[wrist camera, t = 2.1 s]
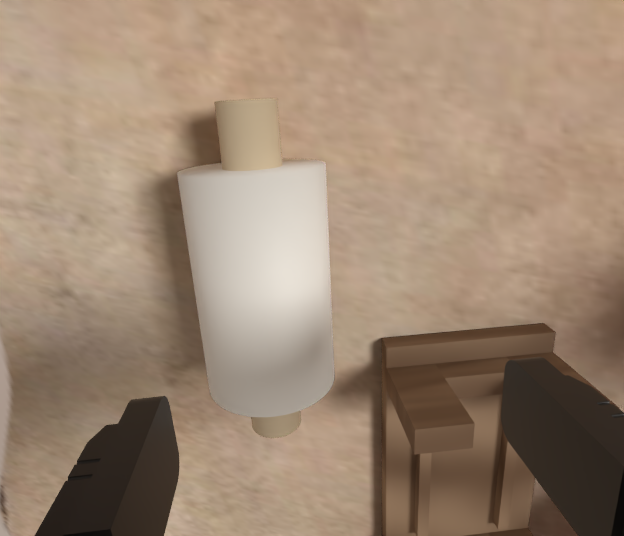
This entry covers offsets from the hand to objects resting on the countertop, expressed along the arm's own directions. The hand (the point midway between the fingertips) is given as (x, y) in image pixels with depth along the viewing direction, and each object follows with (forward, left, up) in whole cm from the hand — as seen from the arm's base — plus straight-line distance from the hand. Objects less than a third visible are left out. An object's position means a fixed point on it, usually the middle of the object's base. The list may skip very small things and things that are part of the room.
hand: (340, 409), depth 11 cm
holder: (+12, +8, -11) cm, 18 cm away
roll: (0, 0, -10) cm, 10 cm away
